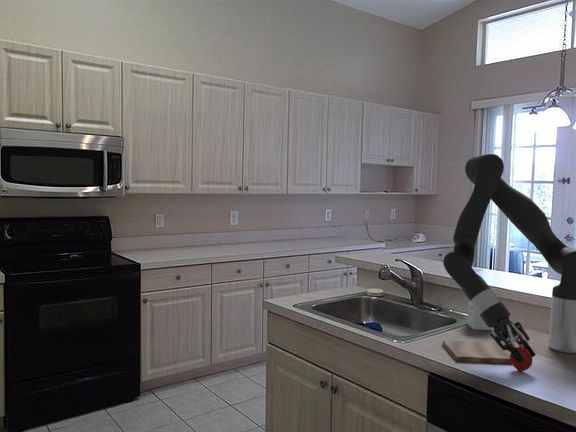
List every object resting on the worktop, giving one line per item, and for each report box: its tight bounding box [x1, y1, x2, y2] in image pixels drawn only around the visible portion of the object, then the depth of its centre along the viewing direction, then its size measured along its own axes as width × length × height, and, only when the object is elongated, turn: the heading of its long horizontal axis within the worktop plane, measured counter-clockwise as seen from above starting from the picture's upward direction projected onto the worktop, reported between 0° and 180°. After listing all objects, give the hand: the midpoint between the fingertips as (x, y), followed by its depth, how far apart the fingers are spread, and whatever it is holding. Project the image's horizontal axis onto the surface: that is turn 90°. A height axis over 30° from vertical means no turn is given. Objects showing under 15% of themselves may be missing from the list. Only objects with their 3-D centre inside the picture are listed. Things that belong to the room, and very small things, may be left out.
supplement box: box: [466, 299, 494, 331], centre depth 179 cm, size 7×7×13 cm
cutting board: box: [442, 339, 512, 365], centre depth 150 cm, size 20×15×2 cm
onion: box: [510, 344, 533, 373], centre depth 136 cm, size 6×6×8 cm
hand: (527, 358), depth 135 cm, fingers closed on onion, 5 cm apart
